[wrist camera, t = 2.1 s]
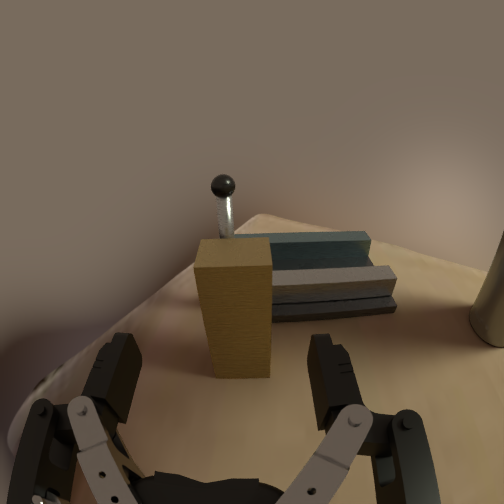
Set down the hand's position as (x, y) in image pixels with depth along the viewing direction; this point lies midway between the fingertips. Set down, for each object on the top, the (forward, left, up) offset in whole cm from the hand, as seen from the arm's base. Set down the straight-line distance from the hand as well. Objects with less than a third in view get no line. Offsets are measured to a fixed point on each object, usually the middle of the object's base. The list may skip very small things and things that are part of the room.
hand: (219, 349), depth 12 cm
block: (0, -10, -15) cm, 18 cm away
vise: (-9, -25, -15) cm, 31 cm away
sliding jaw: (-9, -20, -14) cm, 26 cm away
